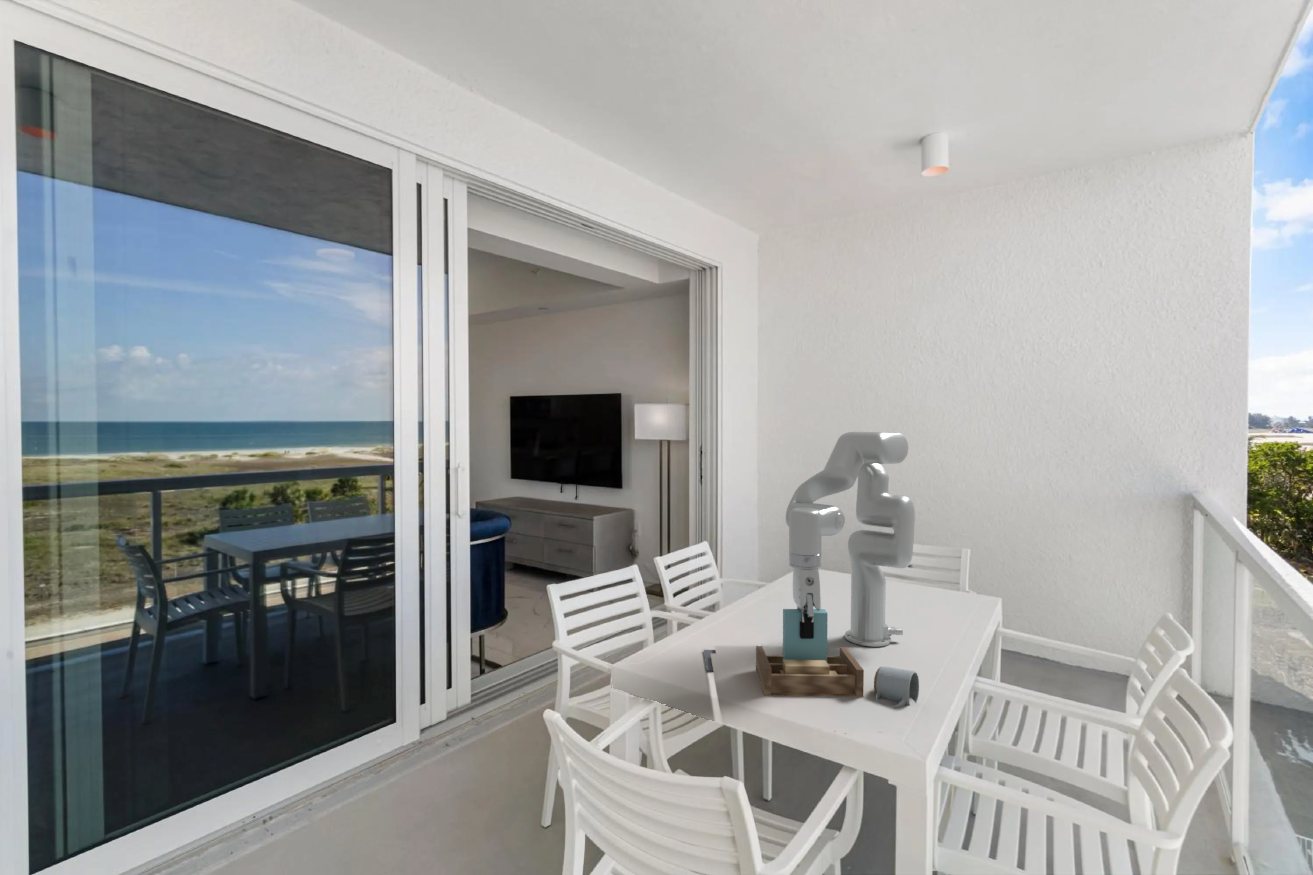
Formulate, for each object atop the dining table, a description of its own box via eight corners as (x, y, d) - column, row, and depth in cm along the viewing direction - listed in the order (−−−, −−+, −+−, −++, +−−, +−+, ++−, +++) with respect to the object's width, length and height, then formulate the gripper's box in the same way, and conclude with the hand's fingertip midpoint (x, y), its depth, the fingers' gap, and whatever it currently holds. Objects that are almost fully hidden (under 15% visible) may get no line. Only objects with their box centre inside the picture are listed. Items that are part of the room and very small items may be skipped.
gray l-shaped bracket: (762, 652, 168) (762, 650, 168) (770, 672, 154) (770, 670, 154) (703, 651, 168) (703, 649, 168) (706, 672, 154) (706, 670, 154)
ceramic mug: (883, 690, 144) (883, 658, 143) (919, 700, 139) (920, 667, 138) (866, 708, 135) (867, 673, 135) (905, 719, 130) (905, 683, 130)
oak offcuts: (835, 683, 144) (835, 660, 144) (839, 690, 140) (839, 666, 140) (779, 682, 145) (779, 659, 144) (782, 689, 141) (782, 665, 140)
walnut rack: (845, 677, 151) (845, 647, 151) (863, 703, 137) (863, 669, 137) (755, 675, 152) (756, 645, 152) (764, 701, 138) (764, 668, 138)
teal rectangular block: (824, 661, 150) (824, 608, 149) (827, 666, 147) (827, 612, 146) (782, 661, 150) (782, 608, 150) (785, 666, 147) (785, 612, 147)
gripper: (829, 568, 139) (829, 648, 140) (812, 552, 156) (812, 623, 156) (796, 568, 140) (796, 648, 140) (783, 552, 156) (783, 623, 156)
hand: (804, 634), depth 148 cm, fingers closed on teal rectangular block, 3 cm apart
